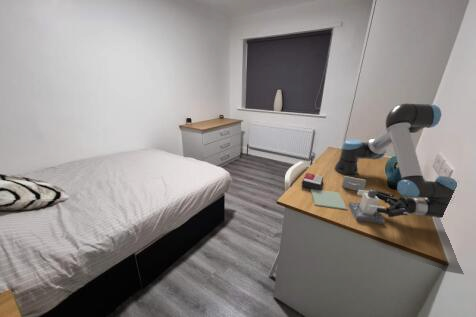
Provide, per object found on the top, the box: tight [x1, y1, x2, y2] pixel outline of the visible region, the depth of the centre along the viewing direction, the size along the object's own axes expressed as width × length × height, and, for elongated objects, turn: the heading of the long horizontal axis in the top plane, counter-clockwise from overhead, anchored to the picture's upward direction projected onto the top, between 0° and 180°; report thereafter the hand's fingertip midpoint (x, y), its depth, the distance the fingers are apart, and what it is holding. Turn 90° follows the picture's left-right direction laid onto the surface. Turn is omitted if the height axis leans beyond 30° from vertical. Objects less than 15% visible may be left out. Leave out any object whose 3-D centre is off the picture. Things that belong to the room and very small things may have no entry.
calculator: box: [301, 172, 324, 190], centre depth 126 cm, size 11×4×15 cm
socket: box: [348, 201, 386, 225], centre depth 99 cm, size 12×12×2 cm
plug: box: [359, 188, 380, 215], centre depth 97 cm, size 5×5×14 cm
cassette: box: [341, 175, 367, 192], centre depth 121 cm, size 12×2×8 cm, turn 66°
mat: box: [310, 188, 348, 210], centre depth 111 cm, size 16×16×1 cm
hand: (362, 199), depth 97 cm, fingers open, 13 cm apart
